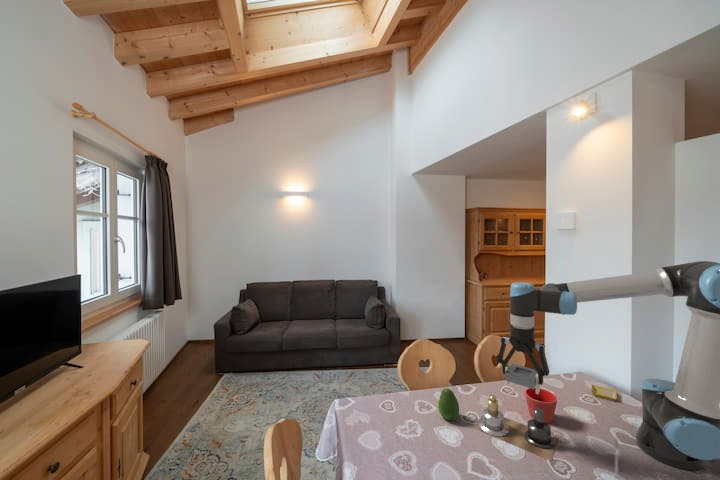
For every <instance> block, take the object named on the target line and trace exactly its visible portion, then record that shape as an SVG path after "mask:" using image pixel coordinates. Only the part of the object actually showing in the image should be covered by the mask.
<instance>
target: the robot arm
mask: <svg viewBox="0 0 720 480" xmlns="http://www.w3.org/2000/svg"><path fill="white" fill-rule="evenodd" d="M509 291H510V293H509V299H510V301H509V303H510V304H509V305H510V306H509V308H510V309H509V310H510V311H509V312H510V314H509V317H510V320H509V322H510V324H511V325H510V327H509V328H510V332H509V335H510V336H509V337H506V336H505V335H504V336H502V337H501V338H500V342H501V344H500V348H499V353H498V356H497V360H496V362H497V363H498V364H500V365H501V366H502V374H503V375H505V372H506V371H507V369H508V368H509V367H510V365H511V364H509V361H510V360H511V358H512V357H513V356H514V354H515V352H518V353H523V354H526V355H527V356H528V357H529V360H530V361H531V363H532V365H533V368H534V369H535V370H536V371H537V374H536V386H535V388H536V394H539V392H540V389H541V388H540V386H541V385H543V384H544V377H548V376H549V374H550V369H549V368H550V367H549V365H548V360H547V357H546V353H545V350H546V349H545V347H546V346H545V344H538V343H536V341H535V312H540V313H548V314H549V313H550V314H558V315H563V316H565V315H570V316H571V315H572V316H573V315H575V314H577V312H578V303H586V302H587V303H588V302H597V301H607V300H617V299H627V298H630V299H631V298H638V297H649V296H650V297H651V296H659V295H661V296H662V295H664V296H666V297H668V298H672V297H687V299H686V302H685V307H686V308H687V309H688V310H689V311H690V312H691V315H690V320H689V325H688V329H687V333H686V335H685V341H684V345H683V349H682V352H681V358H680V360H679V366H678V370H677V372H676V373H677V375H676V377H675V382H673V381H671V380H670V381H669V380H665V379H659V378H646V379H643V380H642V385H641V396H642V397H641V402H642V403H641V405H642V409H641V411H642V422H641V424H640V426H639V427H638V429H637V432H636V433H635V434H636V435H635V443H636V445H637V446H638V447H639V448H640V450H641V451H643V452H644V453H646V454H647V455H648V456H649V457H651V458H653V459H655V460H657V461H659V462H661V463H664V464H666V465H667V466H671V467H674V468H678V469H682V470H687V471H688V470H689V471H697V470H700V469H702V468H703V467H704V466H703V465H704V461H712V460H720V262H717V261H707V260H705V261H704V260H703V261H702V260H701V261H700V260H699V261H693V262H687V263H681V264H676V265H669V266H662V267H657V269H655V271H648V272H641V273H640V272H639V273H633V274H632V273H631V274H624V275H617V276H609V277H601V278H594V279H586V280H579V281H577V280H576V281H569V282H565V283H563V282H562V283H552V282H550V283H549V282H548V283H546V284H544V285H543V286H542V287H541V289H536V288H535V285H534V283H533V284H532V283H530V282H524V281H523V282H521V281H519V282H518V281H517V282H513V283H511V284H510V290H509ZM508 343H510V344H511V346H512V348H511V349H510V351H509V352H508V354H507V355H506V357H505V358H504V355H505V351H506V347H507V344H508ZM535 348H536V350H537V352H538V355H539V356H538V357H539V359H540V363H541V364H540V363H539V361H538V359H537V357H536V355H535V352H534V349H535ZM504 383H505V385H509V384H510V382H509V381H505V382H504Z"/></svg>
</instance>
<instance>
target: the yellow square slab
mask: <svg viewBox="0 0 720 480" xmlns="http://www.w3.org/2000/svg"><path fill="white" fill-rule="evenodd" d="M600 391H601V392H600ZM602 391H604V392H610V393H613V398H611V397H609V396H607V395H606V394H604V393H603V394H602ZM590 393H591V394H592V396H595V397H598V398H601V399H604V398H605V400H608V401H613V402H614V401H617V399H618V395H617V390H616V389H612V388H608V387H604V386H600V385H597V384H591V390H590Z"/></svg>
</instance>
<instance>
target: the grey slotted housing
mask: <svg viewBox="0 0 720 480" xmlns="http://www.w3.org/2000/svg"><path fill="white" fill-rule="evenodd" d="M509 365H510V367H509V368H508V369H507V371H506V372H505V374H504V379H505V381H509V383H513V384H515V385H519V386H522V387H525V388H527V389H528V388H531V389H534V388H536V374H537V371H536V369H535V368H530V367H526V366H523V365H518V364H516V363H511V364H509Z"/></svg>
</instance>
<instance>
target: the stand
mask: <svg viewBox="0 0 720 480" xmlns="http://www.w3.org/2000/svg"><path fill="white" fill-rule="evenodd" d="M527 426H528V430H527V431H526V432H525V438H526V440H527V441H528V442H529V443H530V444H532V445H534V446H536V447H538V448H542V449H551V448H553V447H554V445H555V442H554V440H553V438H552V437H551V435H552V433H551V432H552V429H551V428H552V427H551V426H550V425H549V423H545V422H544V411H543V410H542V409H540V408H534V419H533V418H531V419H529V420H528V421H527Z"/></svg>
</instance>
